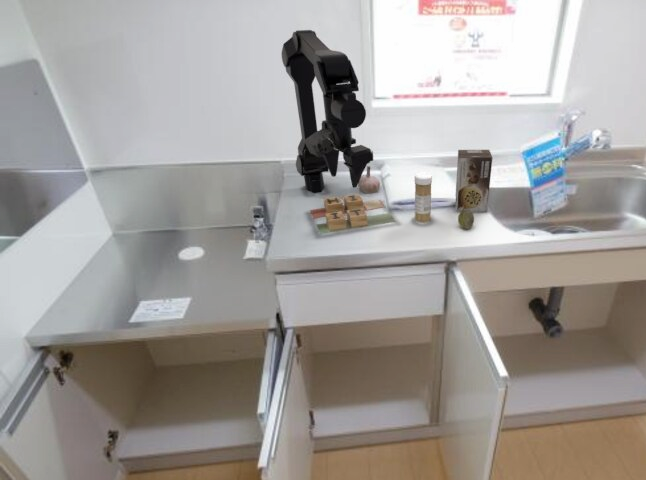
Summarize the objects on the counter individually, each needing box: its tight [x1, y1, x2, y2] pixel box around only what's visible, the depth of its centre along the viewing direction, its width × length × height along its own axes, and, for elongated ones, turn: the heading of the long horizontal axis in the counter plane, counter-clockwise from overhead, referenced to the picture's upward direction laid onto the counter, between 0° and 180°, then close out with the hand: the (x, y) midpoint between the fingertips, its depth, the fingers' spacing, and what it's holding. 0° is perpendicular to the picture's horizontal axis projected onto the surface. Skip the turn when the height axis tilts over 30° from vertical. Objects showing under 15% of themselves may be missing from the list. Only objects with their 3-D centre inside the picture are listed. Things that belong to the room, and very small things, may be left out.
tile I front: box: [325, 211, 347, 231], centre depth 119 cm, size 4×4×3 cm
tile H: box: [323, 196, 344, 213], centre depth 126 cm, size 4×4×3 cm
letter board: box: [309, 199, 397, 235], centre depth 125 cm, size 15×22×1 cm
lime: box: [457, 209, 475, 230], centre depth 121 cm, size 4×5×5 cm
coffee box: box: [454, 149, 493, 213], centre depth 127 cm, size 9×6×16 cm
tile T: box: [346, 208, 368, 228], centre depth 120 cm, size 4×4×3 cm
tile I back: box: [343, 193, 364, 210], centre depth 128 cm, size 4×4×3 cm
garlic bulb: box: [357, 165, 381, 194], centre depth 138 cm, size 8×7×8 cm
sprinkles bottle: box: [414, 171, 433, 223], centre depth 120 cm, size 5×5×13 cm
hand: (344, 181), depth 113 cm, fingers open, 9 cm apart
